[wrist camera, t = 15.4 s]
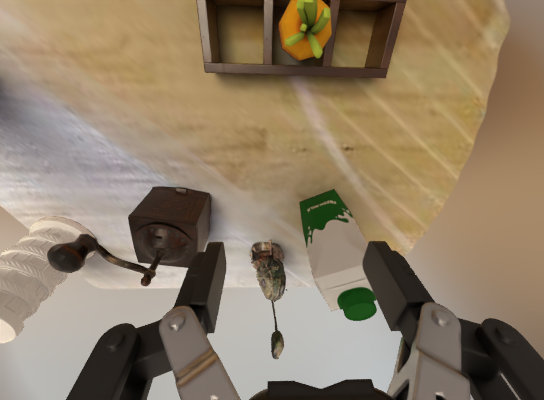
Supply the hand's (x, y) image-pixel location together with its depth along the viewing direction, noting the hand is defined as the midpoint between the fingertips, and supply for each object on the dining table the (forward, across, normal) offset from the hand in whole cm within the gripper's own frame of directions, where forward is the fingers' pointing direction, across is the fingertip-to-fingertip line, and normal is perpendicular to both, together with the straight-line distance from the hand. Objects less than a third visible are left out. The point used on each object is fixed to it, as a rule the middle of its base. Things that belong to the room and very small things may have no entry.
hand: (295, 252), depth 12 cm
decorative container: (+27, +44, +23) cm, 56 cm away
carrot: (+27, -2, -12) cm, 29 cm away
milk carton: (+27, -9, +16) cm, 33 cm away
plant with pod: (+27, +1, +28) cm, 39 cm away
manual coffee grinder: (+27, +20, +16) cm, 37 cm away
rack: (+27, -2, -12) cm, 29 cm away
